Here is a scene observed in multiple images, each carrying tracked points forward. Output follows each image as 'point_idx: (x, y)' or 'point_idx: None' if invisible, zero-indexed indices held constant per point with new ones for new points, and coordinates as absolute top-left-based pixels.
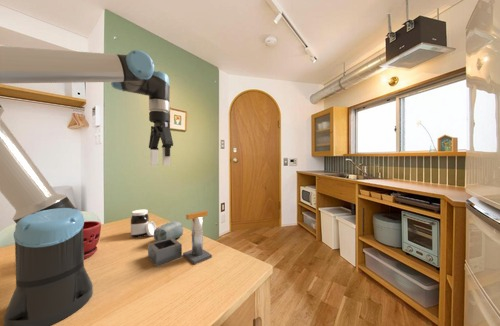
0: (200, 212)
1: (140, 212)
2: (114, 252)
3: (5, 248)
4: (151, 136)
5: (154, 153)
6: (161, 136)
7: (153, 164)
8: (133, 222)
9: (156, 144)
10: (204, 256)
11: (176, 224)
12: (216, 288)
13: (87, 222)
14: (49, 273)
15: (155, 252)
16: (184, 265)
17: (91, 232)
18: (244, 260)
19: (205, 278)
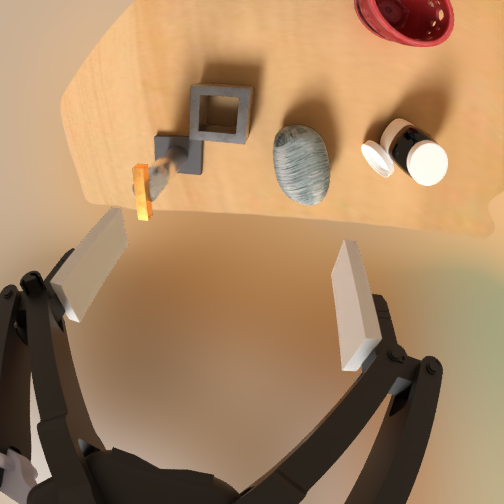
0: (138, 202)
1: (414, 156)
2: (345, 54)
3: None
4: (384, 478)
5: (350, 324)
6: (34, 380)
7: (339, 252)
8: (406, 128)
9: (334, 407)
10: (158, 158)
11: (287, 185)
12: (89, 129)
13: (442, 34)
14: None
15: (196, 85)
16: (166, 121)
17: (367, 8)
18: (118, 197)
19: (113, 128)
